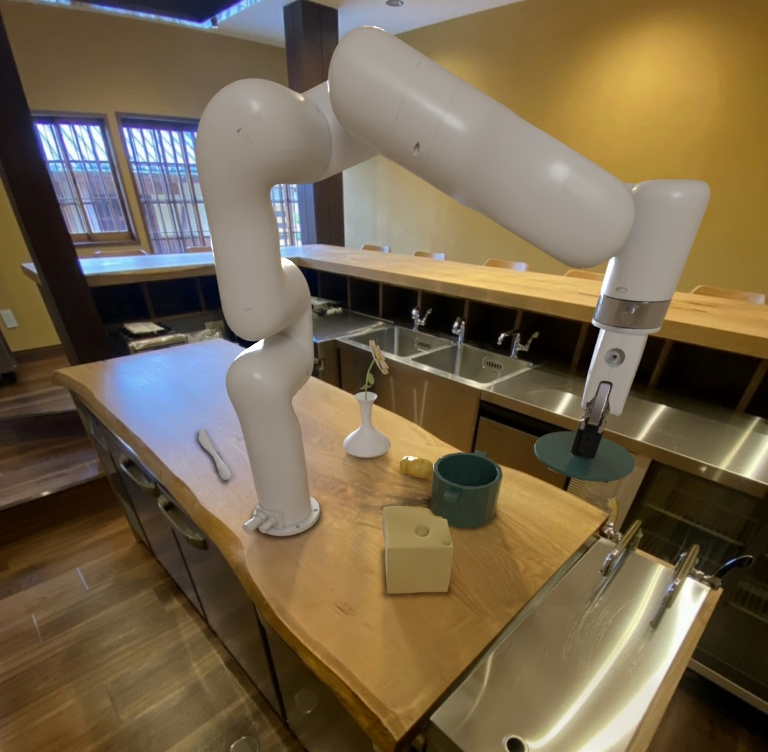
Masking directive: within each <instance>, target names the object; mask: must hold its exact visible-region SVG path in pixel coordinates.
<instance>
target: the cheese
mask: <svg viewBox="0 0 768 752" xmlns="http://www.w3.org/2000/svg"><path fill="white" fill-rule="evenodd" d="M382 508H383V509H382V517H381V527H382V528H381V529H382V536H383V542H384V547H385V548H384V549H385V550H384V551H385V552H384V554H385V556H384V559H385V560H384V561H385V562H384V563H385V564H384V565H385V578H386V593H387V594H391V595H392V594H393V595H394V594H415V593H447V592H448V591H449V586H450V581H451V574H452V566H453V561H454V553H455V546H454V541H453V537H452V534H451V531H450V525H448V522H447V519H443V518H442V517H440V516H435V515H434V514H433V513H432V511H431V509H429V508H427V507H419V506H418V507H416V506H415V507H413V506H405V505H404V506H403V505H402V506H401V505H391V506H384V507H382Z"/></svg>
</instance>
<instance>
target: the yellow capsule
mask: <svg viewBox="0 0 768 752" xmlns="http://www.w3.org/2000/svg"><path fill="white" fill-rule="evenodd" d="M399 467H400V468H399V469H400V471H401V472H402V473H403V474H405V475H408V476H411V477H414V478H418V479H421V480H427V479H429V478H431V477H433V467H434V463H432V461H430V460H428V459H426V458H422V457H418V456H415V455H405V456H403V458H401V459H400V462H399Z"/></svg>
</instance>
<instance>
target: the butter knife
mask: <svg viewBox="0 0 768 752" xmlns="http://www.w3.org/2000/svg"><path fill="white" fill-rule="evenodd" d="M198 442H199V443H200V445H201V446H202V448H203V449H205V450H206V451H207V452H208V453H209V454H210V455H211V457H212V458H213V460H214V462H215V465H216V469H217V471H218V474H219V476H220V477H221V479H222V480H224V481H225V480H230V479H231V478H232V473H231V471H230V469H229V468H228V466H227V465H226V463H225V462H224V461H223V459H221V457H220V456H219V454H218V452H217V451H216V449H215V447H214V445H213V443H212V441H211V439H210V438H209V436H208V435H207V433H206V430H205V429H203V428H201V429H199V430H198Z"/></svg>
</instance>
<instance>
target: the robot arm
mask: <svg viewBox="0 0 768 752" xmlns="http://www.w3.org/2000/svg"><path fill="white" fill-rule="evenodd" d="M327 75H328V76H327V80H326V81H323V82H322V83H319V84H317V85H316V86H313V87H312V88H310V89H308V90H305V91H304V92H302V93H299V92H298V91H295V90H293V89H291V88H289V87H287V86H285V85H283V84H281V83H278V82H276V81H273V80H269V79H265V78H256V77H251V78H242V79H238V80H235V81H233V82H230V83H229V84H227V85H226V86H224V87H222V88H221V89H220V90H219V91H218V92H216V93H215V94H214V95H213V96H212V98H211V99H209V102H208V103H207V104H206V106H205V108H204V110H203V112H202V114H201V117H200V119H199V122H198V125H197V129H196V135H195V144H194V145H195V146H194V147H195V150H194V151H195V152H194V153H195V164H196V165H195V166H196V171H197V178H198V183H199V187H200V192H201V197H202V201H203V205H204V210H205V214H206V219H207V224H208V229H209V237H210V244H211V252H212V258H213V264H214V269H215V276H216V281H217V288H218V293H219V299H220V304H221V311H222V312H223V316H224V320H225V322H226V324H227V326H228V327H229V329H230V330H231V332H233V333H234V334H235V335H236V336H237V337H239V338H241V339H242V340H245V341H249V342H256V343H254V344H253V345H251V346H250V347H248V348H247V349H245V350H244V351H242V352H241V353H240V354H238V355H237V356H236V357H235V358H234V359H233V360H232V361H231V363H230V365H229V367H228V369H227V372H226V375H225V388H226V392H227V395H228V398H229V400H230V404H231V406H232V408H233V410H234V413H235V414H236V417H237V419H238V423H239V424H240V428H241V433H242V436H243V440H244V445H245V449H246V452H247V458H248V461H249V466H250V470H251V474H252V475H251V476H252V480H253V483H254V488H255V493H256V499H257V502H258V503H257V504H256V505H254V508H255V509H254V510H253V514H252V518H251V519H249V520H247V521H246V522H245V523H244V524H242V527H241V528H242V530H243V531H244V533H246V534H247V535H250V534H252V532H254V531H255V530H256V529H258V530H259V531H260V532H261V533H262V534H267V535H270V536H275V537H288V536H293V535H297V534H300V533H303V532H305V531H307V530H308V529H310V528H311V527H313V526H314V525H315V524H316V523H317V521H318V520H319V518H320V515H321V509H320V508H321V507H320V505H319V502H318V501H317V500H316V499H315V498H314V497H313V496H311V492H310V486H309V485H310V484H309V478H308V470H307V461H306V454H305V446H304V440H303V433H302V427H301V423H300V421H299V418H298V416H297V413H296V412H295V409H294V406H293V398H294V397H295V396H296V395H297V393H298V392H299V391H300V390H301V389H302V388H303V387H304V386H305V385H306V384H307V383H308V381H309V380H310V379H311V376H312V373H313V371H314V365H315V346H314V345H315V344H314V328H313V326H314V325H313V309H312V308H313V307H312V296H311V291H310V287H309V284H308V281H307V279H306V277H305V276H304V274H303V272H302V271H301V269H300V268H299V267H298V266H297V265H296V264H295V263H294V262H292V261H291V260H289V259H287V258H286V257H283V256H281V255H282V254H281V245H280V244H281V243H280V242H281V241H280V229H279V223H278V220H277V219H278V218H277V215H276V212H275V210H274V205H273V203H272V200H271V190H272V189H273V188H274V187H275V186H277V185H290V186H293V185H302V186H305V185H311V184H315V183H319V182H321V181H323V180H326V179H329V178H331V177H333V176H334V175H338V174H339V173H341V172H343V171H346V170H348V169H351V168H353V167H355V166H357V165H360V164H362V163H364V162H366V161H369V160H371V159H374V158H375V157H377V156H379V155H380V156H382V157H384V158H386V159H387V160H389V161H390V162H393V163H394V164H396V165H397V166H399V167H400V168H403V169H404V170H406V171H407V172H409V173H411V174H412V175H414V176H416V177H418V178H419V179H421V180H422V181H423V182H425V183H427V184H428V185H430V186H431V187H433V188H435V189H436V190H438V191H440V192H441V193H443V194H444V195H447V196H448V197H449V198H451V199H452V200H453V201H455V202H457V203H458V204H460V205H462V206H464V207H465V208H468V209H470V210H473V211H475V212H477V213H479V214H481V215H482V216H484V217H486V218H487V219H489V220H490V221H492V222H494V223H496V224H497V225H499V226H500V227H502V228H503V229H505V230H507V231H508V232H510V233H511V234H514V235H515V236H516V237H518V238H520V239H521V240H523V241H525V242H526V243H528V244H529V245H531V246H533V247H534V248H536V249H538V250H539V251H541V252H543V253H544V254H546V255H547V256H549V257H551V258H552V259H554V260H555V261H557V262H558V263H561V264H563V265H564V266H567V267H569V268H573V269H577V270H584V269H585V270H587V269H591V268H595V267H597V266H600V265H603V264H604V263H605V262H607V261H608V262H607V266H606V269H605V273H604V276H603V277H604V278H603V280H602V284H601V287H600V291H599V295H598V298H597V302H596V305H595V308H594V312H593V315H592V320H591V324H592V325H593V326H594V327H597V328H599V333H598V335H597V340H596V343H595V346H594V350H593V354H592V357H591V361H590V364H589V368H588V371H587V376H586V379H585V380H586V381H585V384H584V389H583V394H582V401H581V404H580V408H581V410H583V411H584V414H583V415H582V417H581V420H580V423H579V425H578V428H577V430H576V432H577V433H576V437H575V440H574V443H573V446H572V449H571V454H573V455H577V456H582V457H586V458H590V459H593V458H595V455H596V453H597V450H598V447H599V444H600V441H601V438H602V437H603V435H604V429H605V427H606V424H607V418H608V415H609V414H610V415H614V417H615V418H617V417H620V416H621V415H622V413H623V410H624V407H625V405H626V404H625V403H626V401H627V399H628V396H629V393H630V391H631V387H632V384H633V382H634V379H635V377H636V373H637V371H638V368H639V366H640V362H641V360H642V357H643V354H644V351H645V348H646V344H647V340H648V337H649V335H650V334H656V333H658V332H660V331H661V329H662V327H663V325H664V322H665V318H666V317H667V313H668V310H669V308H670V305H671V303H672V299H673V297H674V295H675V292H676V290H677V287H678V284H679V282H680V280H681V276H682V274H683V272H684V268H685V267H686V263H687V261H688V258H689V255H690V253H691V250H692V247H693V245H694V242H695V239H696V237H697V234H698V232H699V229H700V226H701V224H702V221H703V218H704V216H705V214H706V211H707V208H708V205H709V201H710V198H711V188H710V186H709V184H708V182H706V181H704V180H700V179H687V178H685V179H683V178H682V179H681V178H675V179H674V178H673V179H672V178H669V179H668V178H667V179H666V178H665V179H663V178H662V179H647V180H644V181H641V182H638V183H634V182H624V181H622V180H621V179H620V178H618V177H617V176H615V175H614V174H612V172H609V171H608V170H606V169H604V168H603V167H602V166H600V165H598V164H597V163H596V162H594V161H593V160H590V158H587V157H586V156H584V155H583V154H581V153H580V152H578V151H577V150H575V149H573V148H572V147H570V146H568V145H567V144H565V143H564V142H562V141H560V140H559V139H558V138H555V137H554V136H553V135H551V134H549V133H547V132H546V131H544V130H542V129H540V128H538V127H537V126H536V125H534V124H532V123H530V122H529V121H527V120H525V119H524V118H523V117H521V116H520V115H518V114H517V113H516V112H514V111H513V110H512V109H511V108H509V107H508V106H506V105H504V104H503V103H501V102H500V101H498V100H497V99H495V98H493V97H492V96H490V95H489V94H487V93H485V92H484V91H482V90H480V89H479V88H477V87H476V86H474V85H472V84H470V83H469V82H468V81H466V80H464V79H463V78H461V77H459V76H458V75H456V74H455V73H453V72H452V71H451V70H448V69H447V68H445V66H442V65H441V64H440V63H438V62H436V61H434V60H433V59H431V58H430V57H428V56H427V55H426V54H423V52H421V51H420V50H418V49H416V48H414V47H413V46H411V45H410V44H408V43H406V42H405V41H403V40H402V39H400V38H399V37H397V36H395V35H394V34H393V33H391V32H389V31H386V30H384V29H383V28H381V27H377V26H374V25H373V26H372V25H358V26H355V28H352V29H350V30H349V31H348V32H347V33H345V34H344V35H343V37H342V38H341V39H340V40H339V41H338V44H337V45H336V47H335V49H334V50H333V53H332V56H331V59H330V63H329V67H328V73H327ZM582 419H583V420H582ZM601 419H602V420H601ZM581 421H582V423H581ZM585 424H586V425H585ZM604 424H605V426H604ZM580 425H581V426H580ZM603 427H604V429H603ZM602 430H603V432H602Z"/></svg>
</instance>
